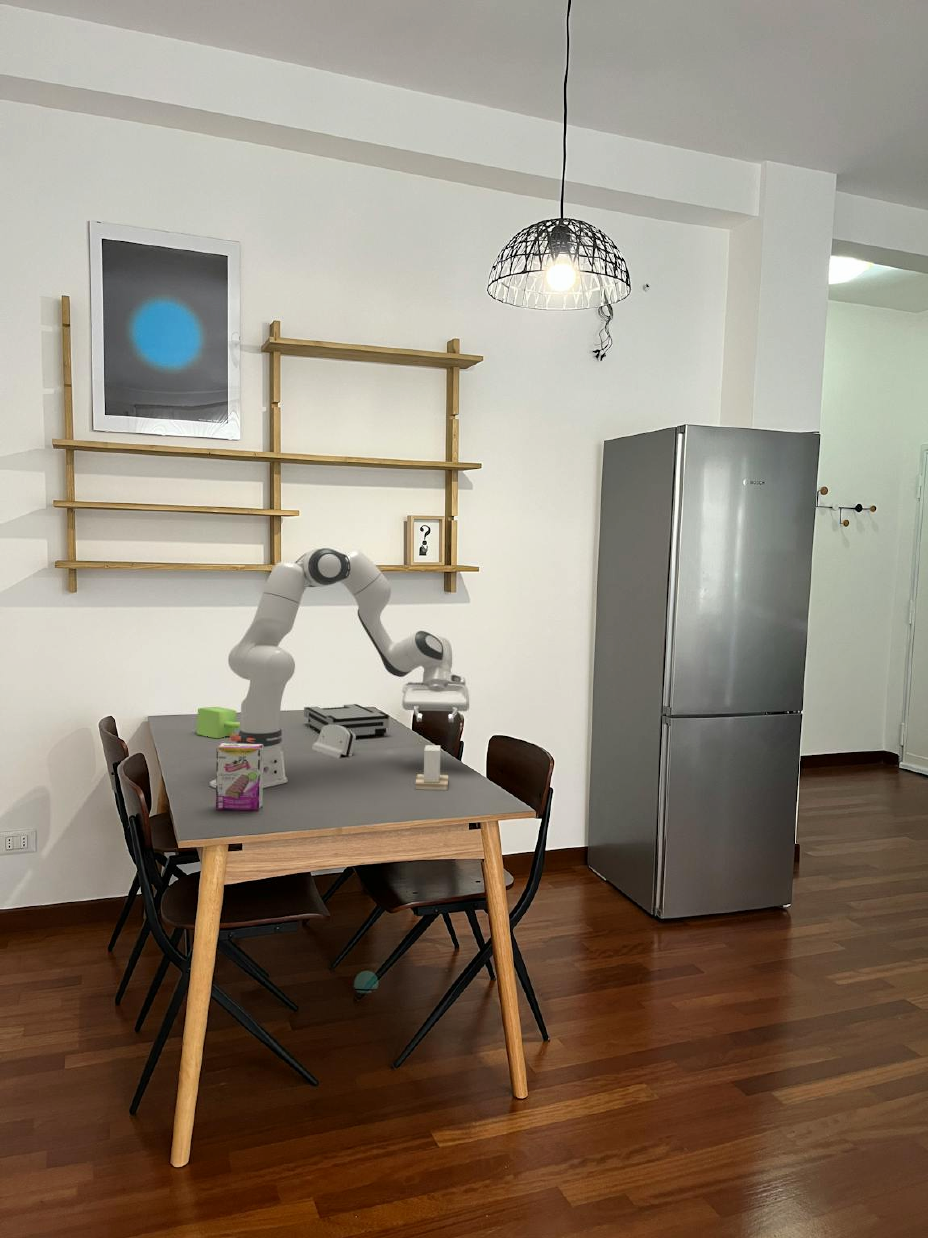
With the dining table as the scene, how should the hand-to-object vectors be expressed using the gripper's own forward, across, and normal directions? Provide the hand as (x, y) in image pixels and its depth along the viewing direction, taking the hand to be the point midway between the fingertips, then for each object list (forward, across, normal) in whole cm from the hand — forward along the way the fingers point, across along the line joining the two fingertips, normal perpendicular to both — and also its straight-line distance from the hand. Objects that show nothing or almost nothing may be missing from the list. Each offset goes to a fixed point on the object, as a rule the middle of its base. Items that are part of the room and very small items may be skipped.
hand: (435, 720), depth 277 cm
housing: (+19, 0, +2) cm, 19 cm away
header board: (+20, 0, +3) cm, 20 cm away
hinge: (-7, -34, +30) cm, 46 cm away
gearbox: (-23, -77, +46) cm, 93 cm away
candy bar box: (+40, -48, -17) cm, 65 cm away
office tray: (-31, -35, +55) cm, 72 cm away
